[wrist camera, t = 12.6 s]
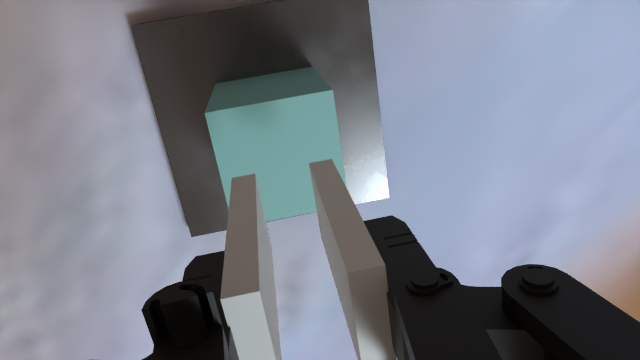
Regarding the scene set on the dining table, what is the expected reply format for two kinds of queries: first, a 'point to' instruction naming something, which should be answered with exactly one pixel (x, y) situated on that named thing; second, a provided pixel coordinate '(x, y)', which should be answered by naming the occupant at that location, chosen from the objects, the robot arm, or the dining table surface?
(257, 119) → the teal block
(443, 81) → the dining table surface
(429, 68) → the dining table surface
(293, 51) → the grey square plate
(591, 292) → the robot arm
